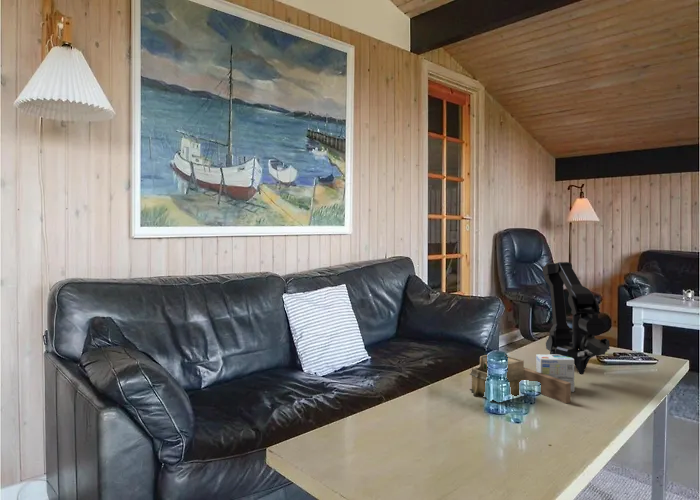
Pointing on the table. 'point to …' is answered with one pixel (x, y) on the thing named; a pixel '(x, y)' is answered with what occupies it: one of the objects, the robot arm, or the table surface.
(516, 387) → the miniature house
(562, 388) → the wall
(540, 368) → the light bulb box
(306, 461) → the table surface
